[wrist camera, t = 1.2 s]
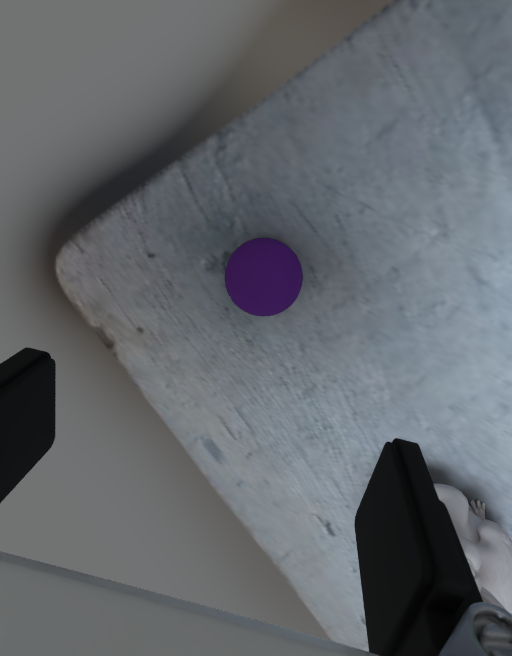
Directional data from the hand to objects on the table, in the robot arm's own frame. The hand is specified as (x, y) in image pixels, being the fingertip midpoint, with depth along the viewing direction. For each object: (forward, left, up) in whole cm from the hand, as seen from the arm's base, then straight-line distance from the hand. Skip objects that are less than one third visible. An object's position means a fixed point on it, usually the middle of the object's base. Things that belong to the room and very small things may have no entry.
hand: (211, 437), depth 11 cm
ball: (-1, 0, -13) cm, 13 cm away
